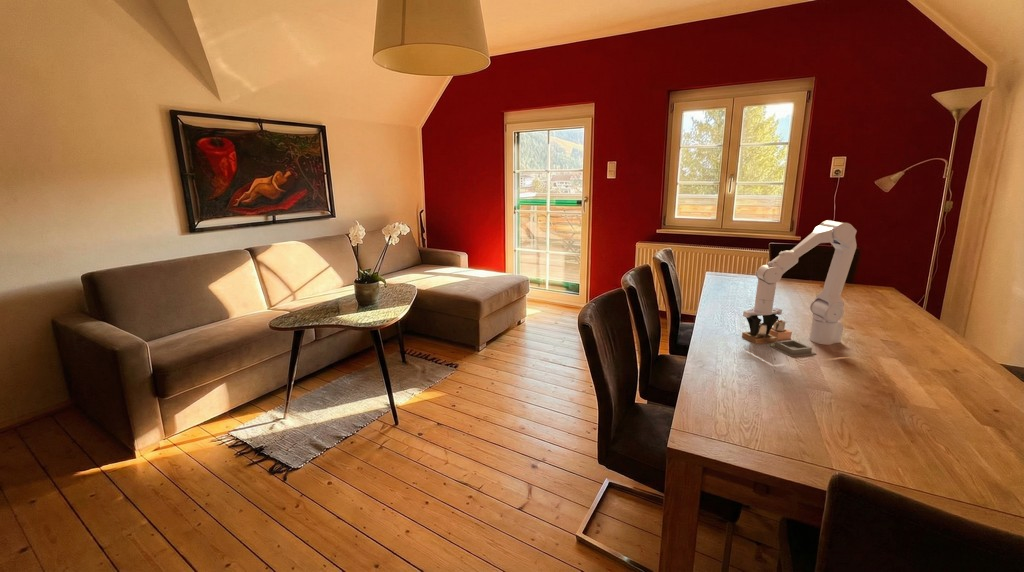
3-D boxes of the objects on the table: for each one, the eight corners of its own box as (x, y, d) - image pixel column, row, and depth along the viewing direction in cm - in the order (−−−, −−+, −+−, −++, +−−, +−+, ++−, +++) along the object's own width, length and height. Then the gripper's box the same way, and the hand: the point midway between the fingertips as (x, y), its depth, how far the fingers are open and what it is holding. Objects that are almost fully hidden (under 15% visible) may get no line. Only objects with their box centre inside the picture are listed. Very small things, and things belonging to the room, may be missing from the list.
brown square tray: (760, 336, 164) (760, 330, 163) (775, 343, 157) (776, 337, 156) (741, 338, 162) (742, 332, 162) (756, 345, 155) (757, 339, 155)
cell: (765, 339, 160) (768, 322, 158) (764, 342, 157) (767, 325, 155) (754, 337, 162) (756, 320, 160) (753, 340, 159) (755, 323, 157)
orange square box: (777, 334, 166) (779, 326, 165) (790, 340, 160) (791, 331, 159) (764, 335, 164) (765, 327, 164) (776, 341, 159) (777, 333, 158)
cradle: (792, 345, 155) (793, 338, 155) (815, 356, 146) (817, 348, 146) (769, 347, 154) (770, 340, 153) (791, 358, 144) (792, 351, 144)
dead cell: (777, 334, 164) (780, 318, 163) (785, 337, 161) (788, 321, 159) (769, 335, 163) (772, 319, 162) (777, 338, 160) (779, 322, 158)
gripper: (773, 294, 161) (768, 328, 164) (739, 296, 158) (734, 331, 161) (788, 299, 154) (783, 335, 157) (753, 302, 151) (748, 338, 155)
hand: (759, 334), depth 159 cm, fingers open, 5 cm apart
